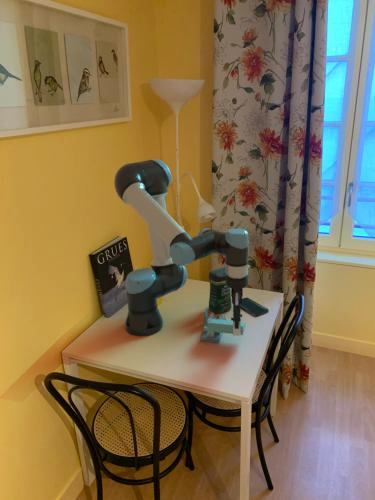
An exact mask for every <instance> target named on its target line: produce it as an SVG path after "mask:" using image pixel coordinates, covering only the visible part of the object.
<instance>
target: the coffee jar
mask: <svg viewBox="0 0 375 500" xmlns="http://www.w3.org/2000/svg"><path fill="white" fill-rule="evenodd" d="M226 275H227V274H226V266H224V267H220V268H219V267H218V268H216V269H213V270H210V271H209V272H208V282H209V299H208V310H209V311H211V313H214V314H222V313H223V314H224V313H225V312H227V311H229V310H231V309H232V308H233V307H232V306H233V304H232V297H231V288H229V287H228V286H227V285H226Z"/></svg>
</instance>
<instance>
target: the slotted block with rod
mask: <svg viewBox="0 0 375 500" xmlns="http://www.w3.org/2000/svg"><path fill="white" fill-rule="evenodd" d="M214 315H215V313H214V312H210V315H209V306H208V307H207V306H206V307H205V308H204V311H203V327H204V326H205V324H206V320H207V319H208V318H210V319H220V320H226V313H223V314H221V315H222V316H221V317H220V316H219V315H218V316H216V317H214ZM223 334H224V333H220V332H212V331H204V330H203V333H202V335H201V337H200V342H201V343H207V344H208V343H209V344H218V345H219V344H220V342H221V339H222V336H223Z"/></svg>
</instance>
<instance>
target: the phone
mask: <svg viewBox="0 0 375 500" xmlns="http://www.w3.org/2000/svg"><path fill="white" fill-rule="evenodd" d="M241 309H242V310H244V311H245V312H246V313H248V314H250V315H252V316H253V317H255V318H257V317H260V316H262V315H265V314H268V313H269V311H270V310H269V308H267V307H265V306H263V305H262V304H260V303H258V302H257V301H254V300H253V299H250V298H249V297H242V303H241V304H240V310H241Z"/></svg>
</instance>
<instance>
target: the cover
mask: <svg viewBox="0 0 375 500" xmlns="http://www.w3.org/2000/svg"><path fill="white" fill-rule="evenodd" d="M220 319H221V318H220ZM220 319H216V318H215V319H210V318H209V317H208V319H207V320H206V324H205V326H204V325H203V332H204V331H212V332H220V333H223V334H231V335H233V320H227V319H225V320H220ZM245 328H246V322H245V321H241V336H244V333H245V330H246V329H245Z"/></svg>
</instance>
